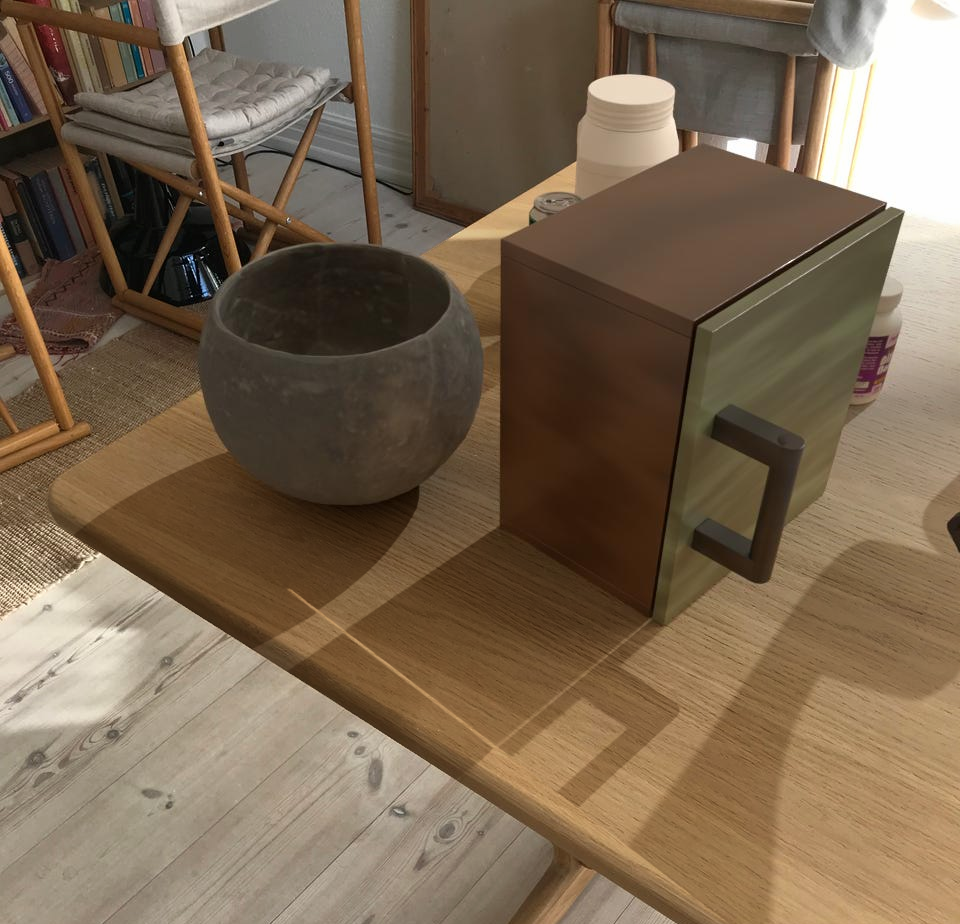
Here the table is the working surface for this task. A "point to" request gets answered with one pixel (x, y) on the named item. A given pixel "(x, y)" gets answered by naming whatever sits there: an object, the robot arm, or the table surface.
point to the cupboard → (633, 344)
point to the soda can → (551, 204)
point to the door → (768, 412)
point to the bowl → (340, 370)
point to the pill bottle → (880, 344)
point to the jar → (624, 131)
